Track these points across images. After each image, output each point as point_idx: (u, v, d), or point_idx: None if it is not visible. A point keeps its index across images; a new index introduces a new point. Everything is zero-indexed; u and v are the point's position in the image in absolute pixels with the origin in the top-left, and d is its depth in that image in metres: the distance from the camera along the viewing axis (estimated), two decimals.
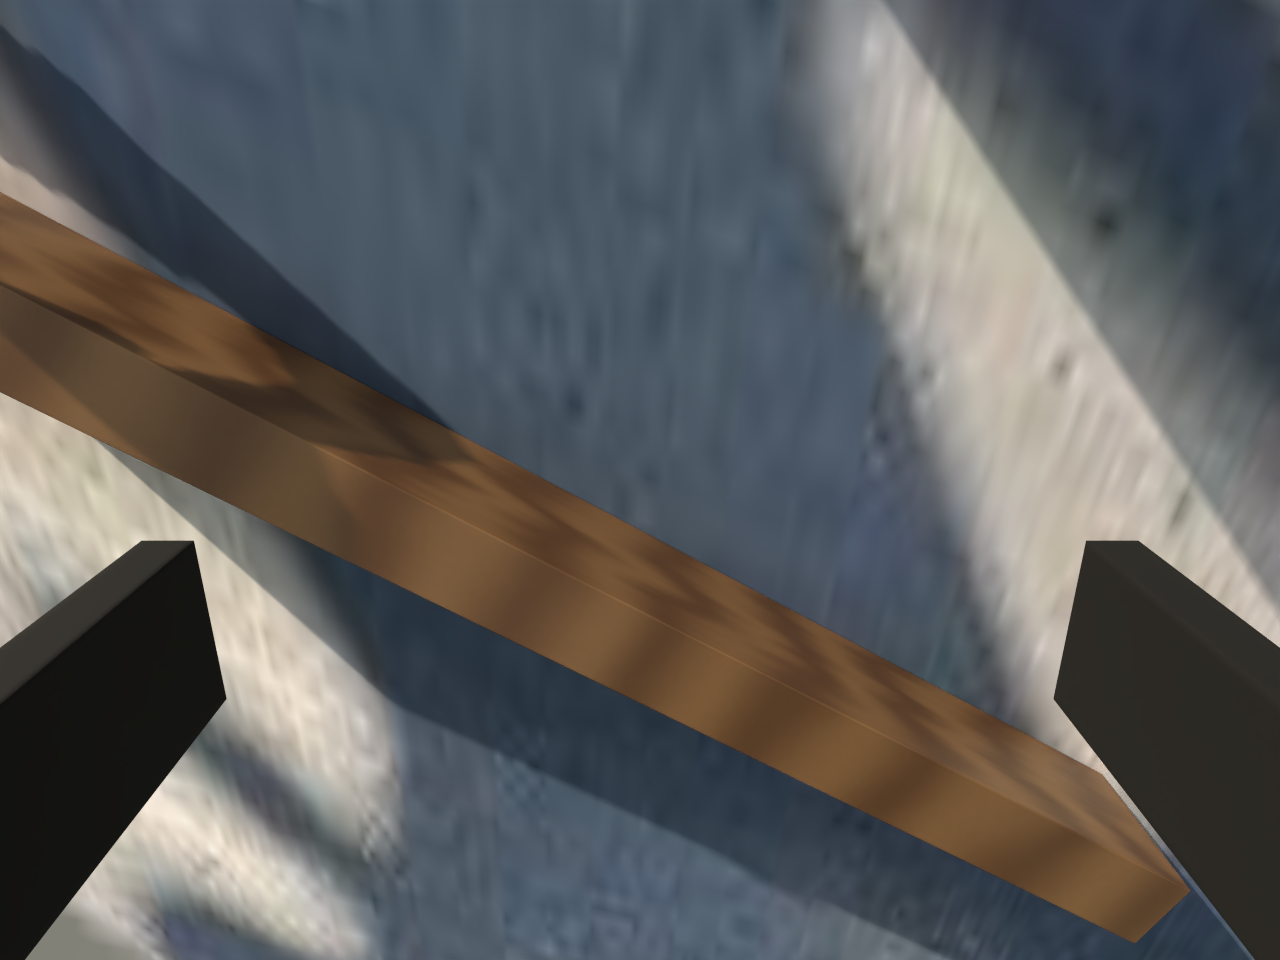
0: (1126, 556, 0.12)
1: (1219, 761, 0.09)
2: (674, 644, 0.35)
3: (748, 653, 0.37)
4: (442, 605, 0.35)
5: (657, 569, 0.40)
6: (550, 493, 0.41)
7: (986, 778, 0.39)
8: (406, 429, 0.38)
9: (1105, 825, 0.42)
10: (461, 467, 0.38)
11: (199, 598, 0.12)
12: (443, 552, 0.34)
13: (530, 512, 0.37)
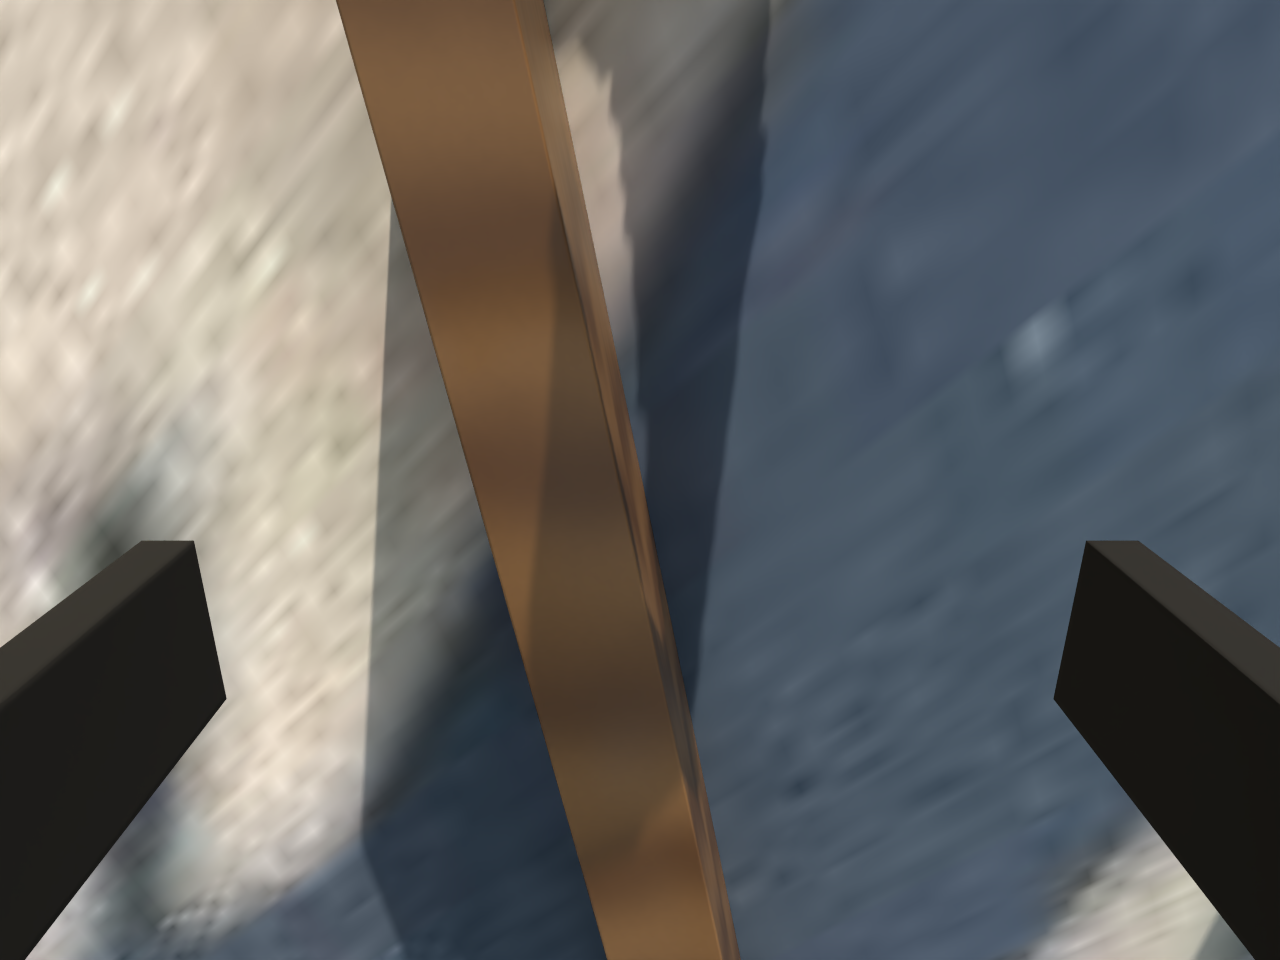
0: (1127, 556, 0.12)
1: (1220, 761, 0.09)
2: None
3: None
4: (609, 959, 0.29)
5: None
6: (714, 841, 0.36)
7: None
8: (686, 723, 0.33)
9: None
10: (701, 800, 0.33)
11: (199, 598, 0.12)
12: (666, 928, 0.29)
13: (717, 889, 0.33)
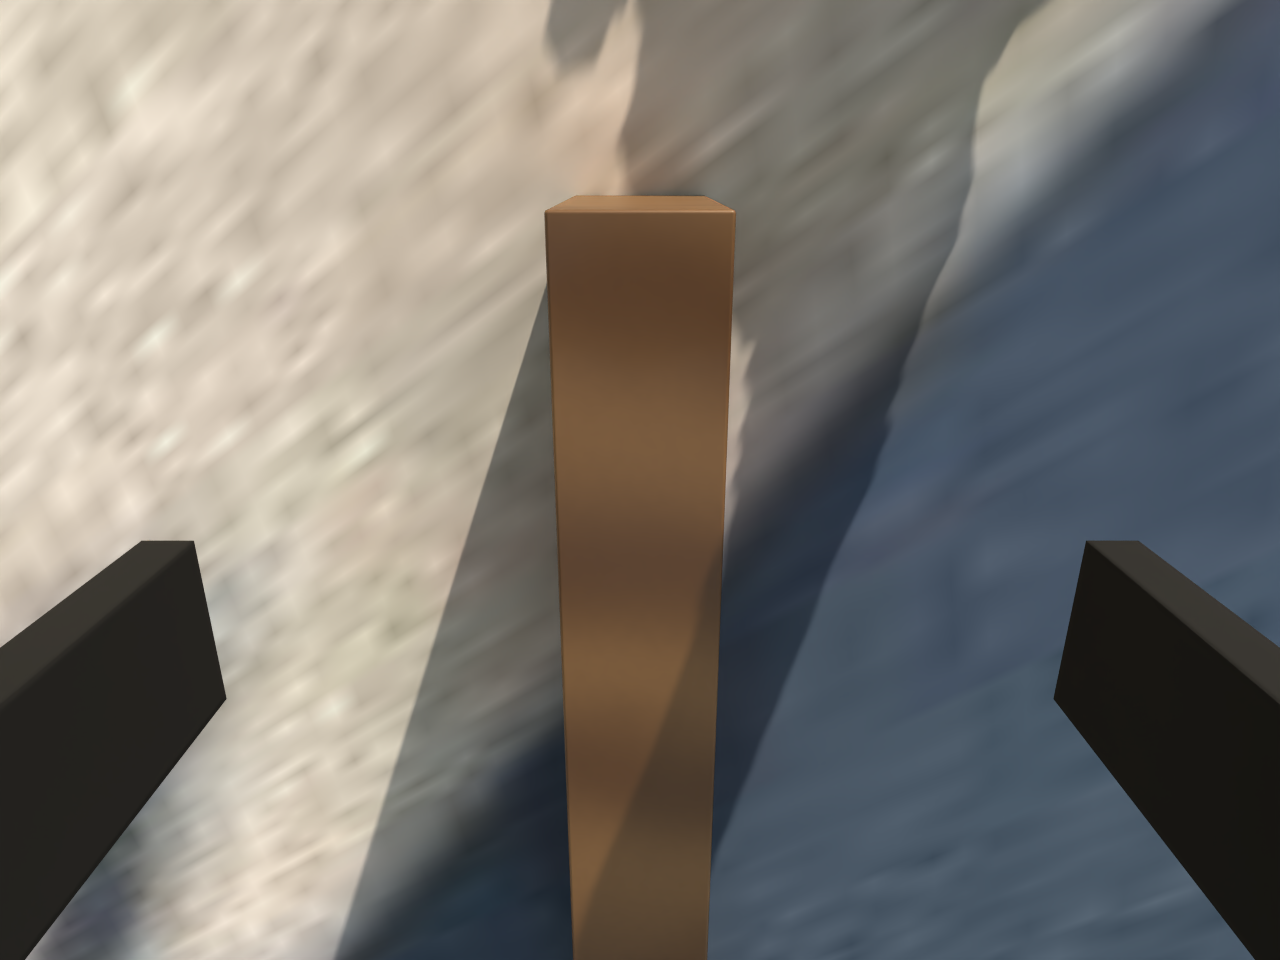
0: (1126, 556, 0.12)
1: (1219, 761, 0.09)
2: None
3: None
4: None
5: None
6: None
7: None
8: None
9: None
10: None
11: (199, 597, 0.12)
12: None
13: None
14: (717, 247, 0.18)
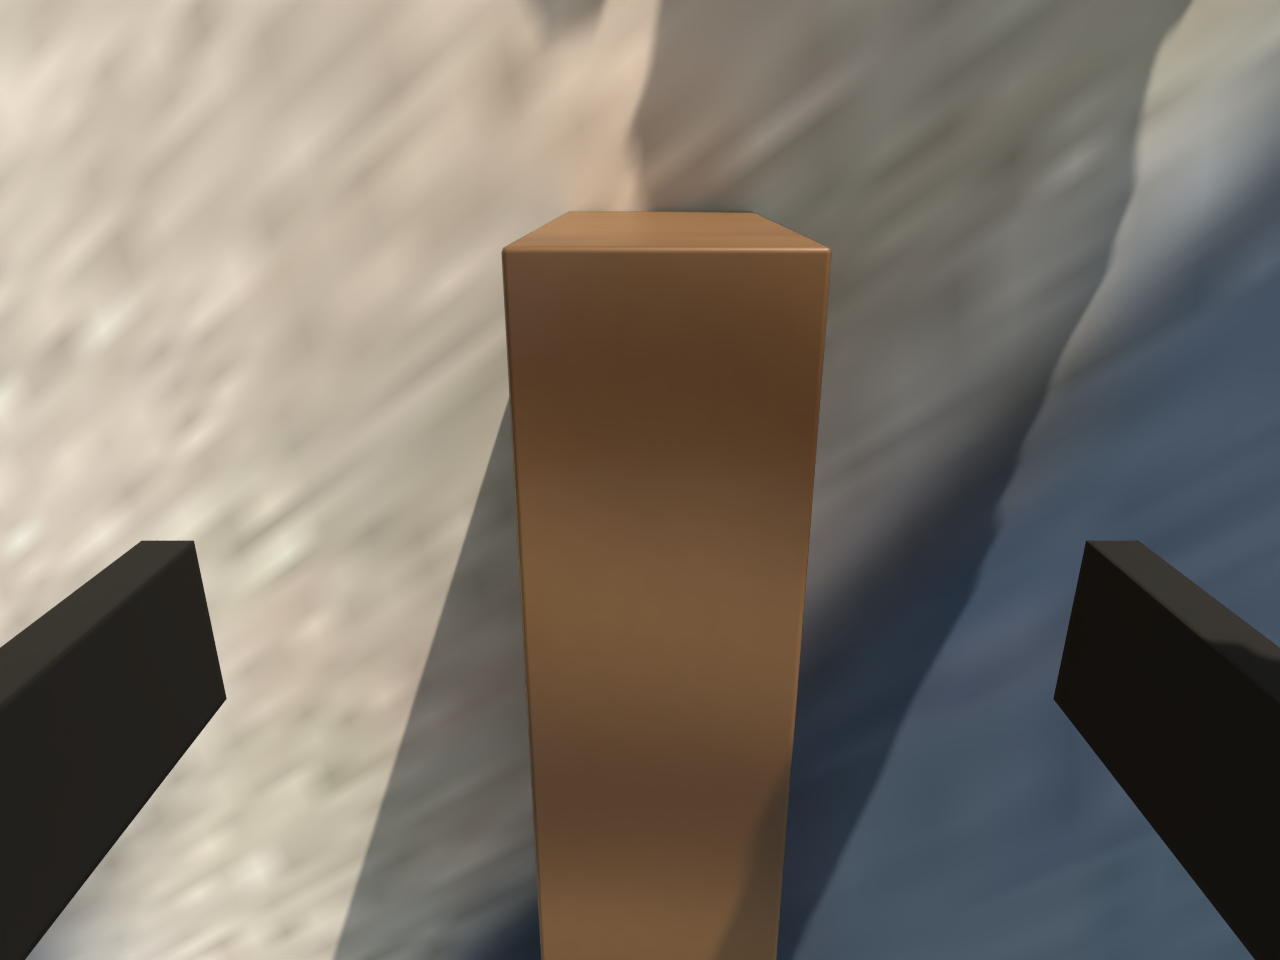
0: (1126, 556, 0.12)
1: (1219, 761, 0.09)
2: None
3: None
4: None
5: None
6: None
7: None
8: None
9: None
10: None
11: (199, 598, 0.12)
12: None
13: None
14: (798, 309, 0.10)
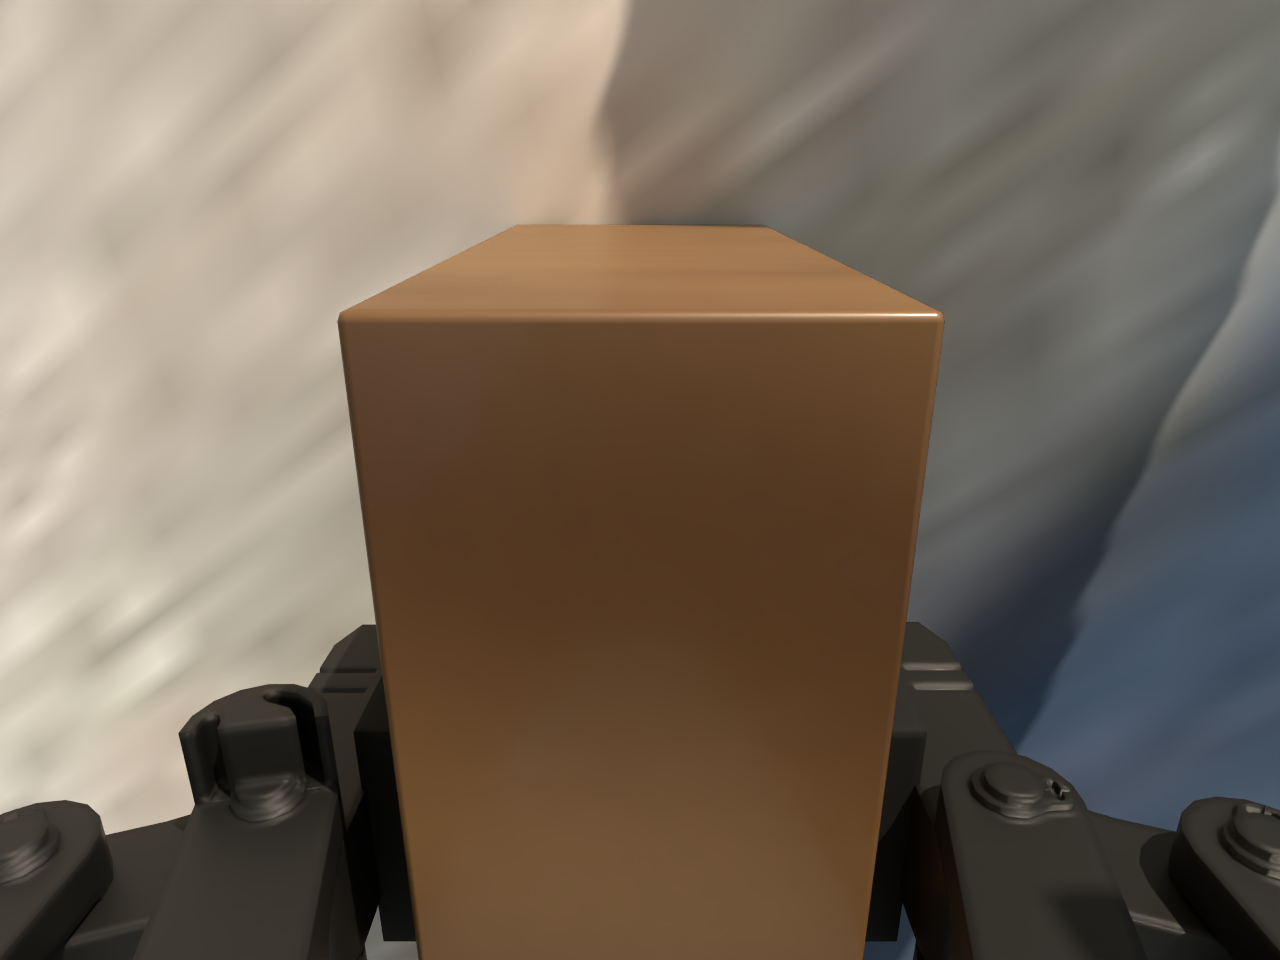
0: None
1: None
2: None
3: None
4: None
5: None
6: None
7: None
8: None
9: None
10: None
11: None
12: None
13: None
14: (881, 422, 0.06)
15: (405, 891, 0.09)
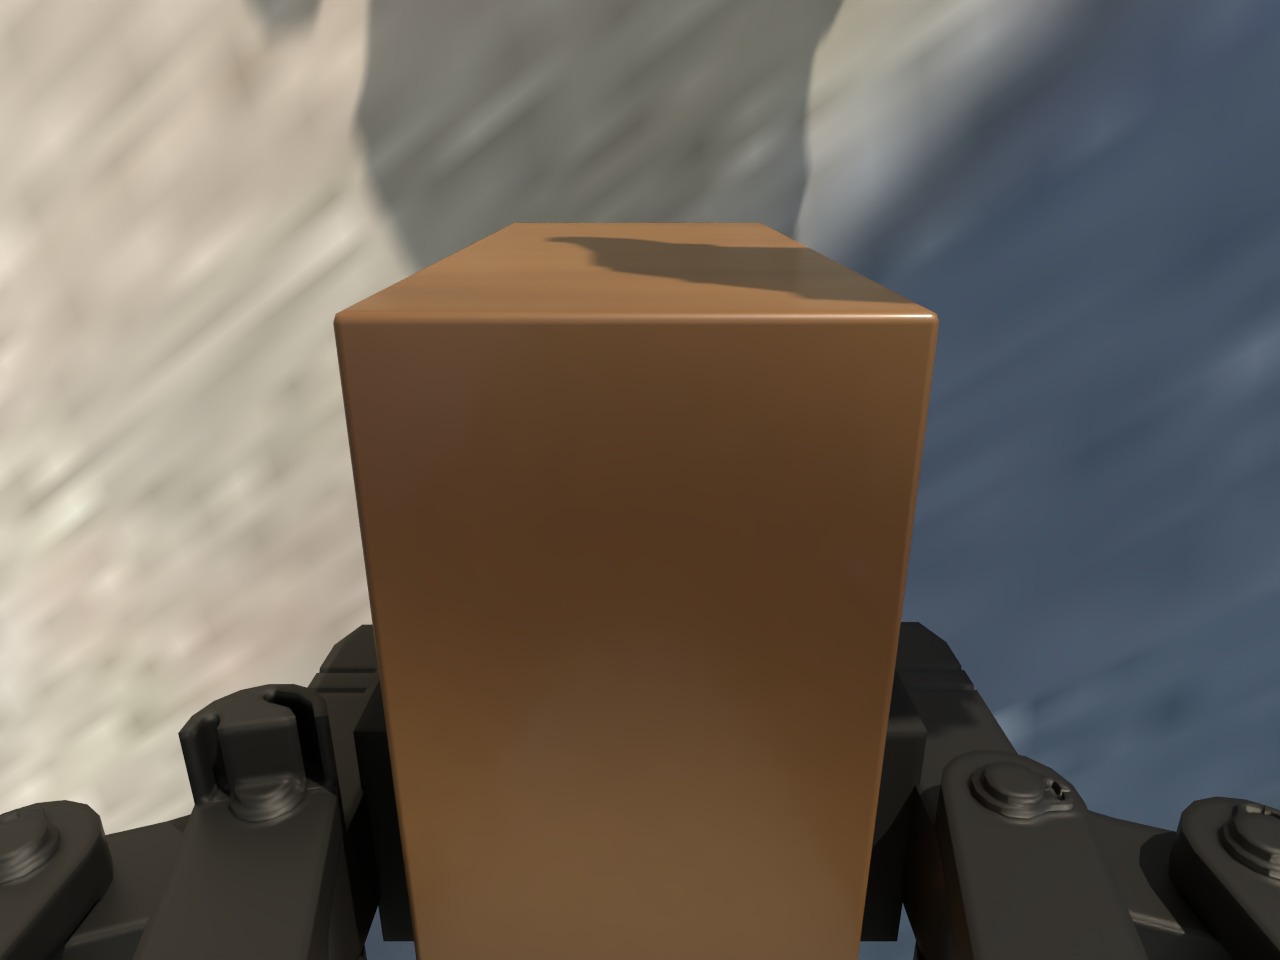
0: None
1: None
2: None
3: None
4: None
5: None
6: None
7: None
8: None
9: None
10: None
11: None
12: None
13: None
14: (878, 422, 0.06)
15: (405, 891, 0.09)
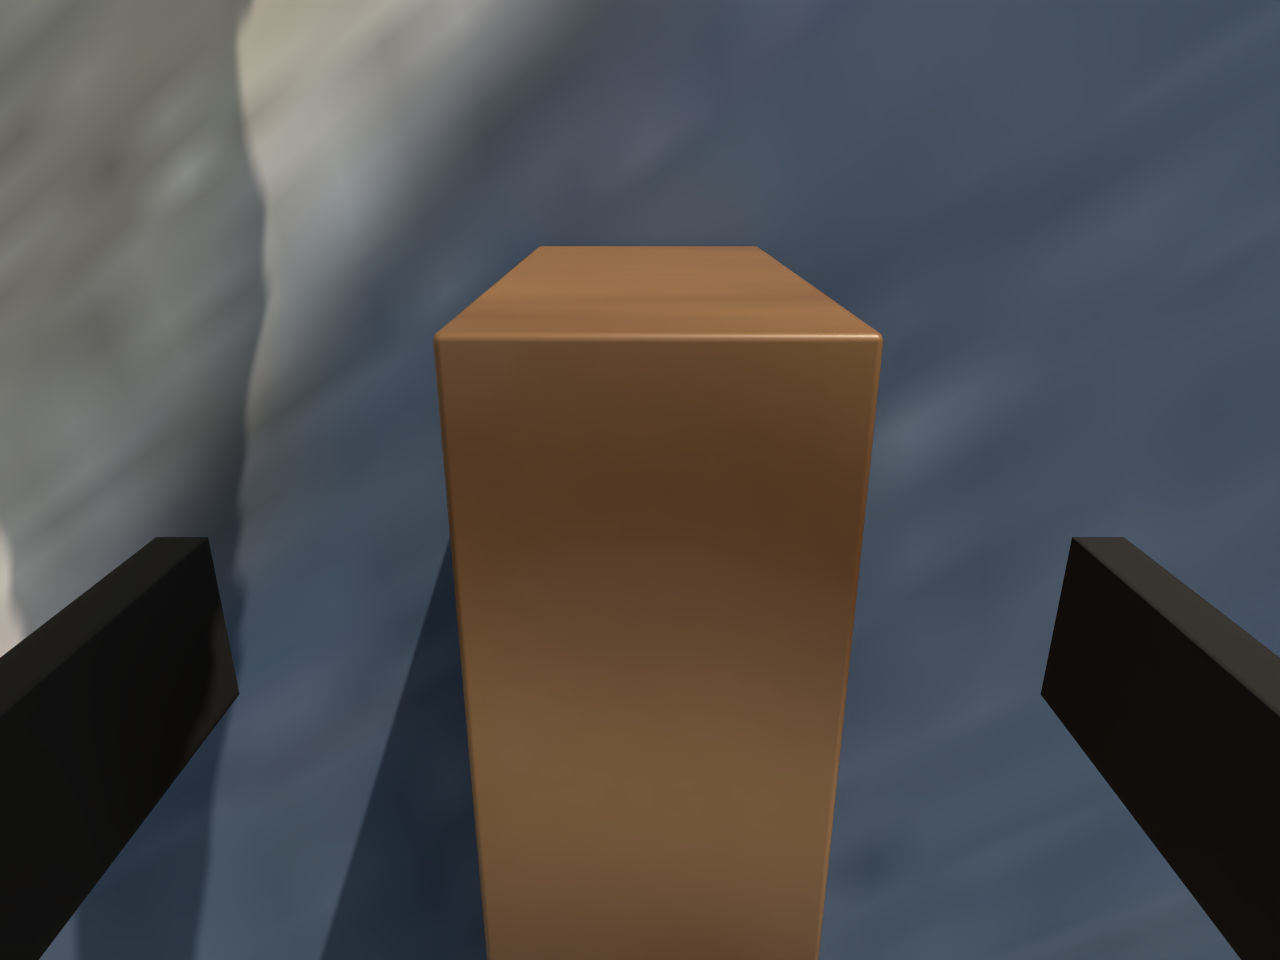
0: (1112, 552, 0.12)
1: (1200, 754, 0.09)
2: None
3: None
4: None
5: None
6: None
7: None
8: None
9: None
10: None
11: (213, 594, 0.12)
12: None
13: None
14: (838, 414, 0.08)
15: None
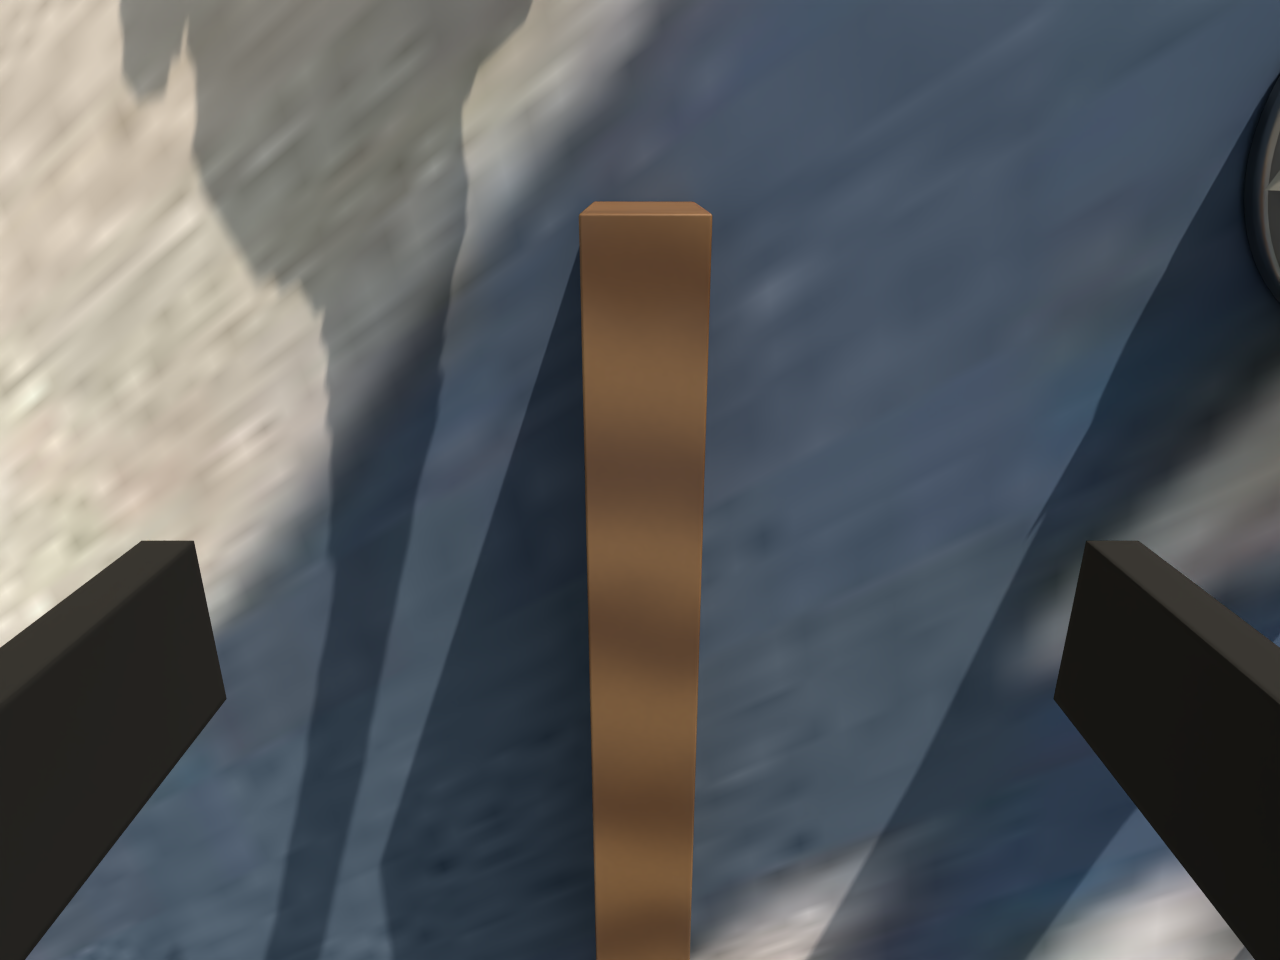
0: (1127, 556, 0.12)
1: (1219, 761, 0.09)
2: None
3: None
4: None
5: None
6: None
7: None
8: None
9: None
10: None
11: (199, 597, 0.12)
12: None
13: None
14: (699, 239, 0.25)
15: None
